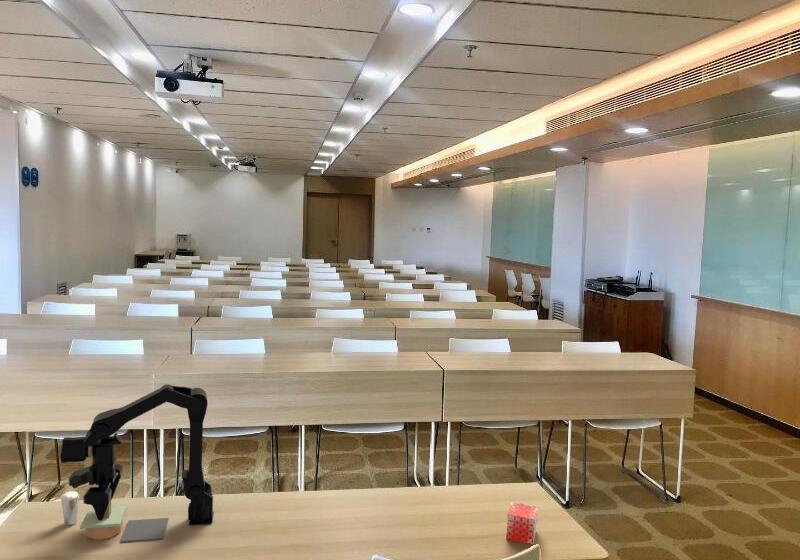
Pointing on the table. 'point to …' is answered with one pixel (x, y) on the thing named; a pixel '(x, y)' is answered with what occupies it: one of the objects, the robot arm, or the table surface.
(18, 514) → the table surface
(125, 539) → the mat
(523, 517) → the puzzle cube
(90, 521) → the cover board
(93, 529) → the bowl
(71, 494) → the milkshake
